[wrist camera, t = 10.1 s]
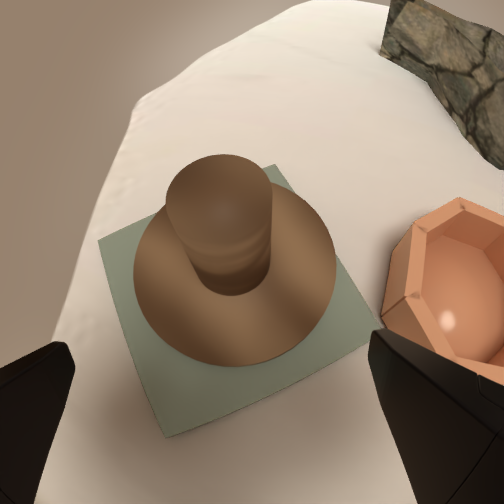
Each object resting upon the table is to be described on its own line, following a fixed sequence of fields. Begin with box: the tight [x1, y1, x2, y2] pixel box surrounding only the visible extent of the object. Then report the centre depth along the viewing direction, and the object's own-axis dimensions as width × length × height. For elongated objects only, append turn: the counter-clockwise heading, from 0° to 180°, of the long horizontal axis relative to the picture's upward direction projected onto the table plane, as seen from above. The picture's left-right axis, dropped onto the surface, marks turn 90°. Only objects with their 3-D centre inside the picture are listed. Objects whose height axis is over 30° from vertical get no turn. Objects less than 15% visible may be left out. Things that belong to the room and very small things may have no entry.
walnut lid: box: [133, 154, 337, 367], centre depth 18 cm, size 13×13×8 cm
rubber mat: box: [98, 164, 381, 438], centre depth 21 cm, size 15×15×1 cm
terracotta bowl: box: [381, 197, 504, 385], centre depth 18 cm, size 12×12×4 cm
